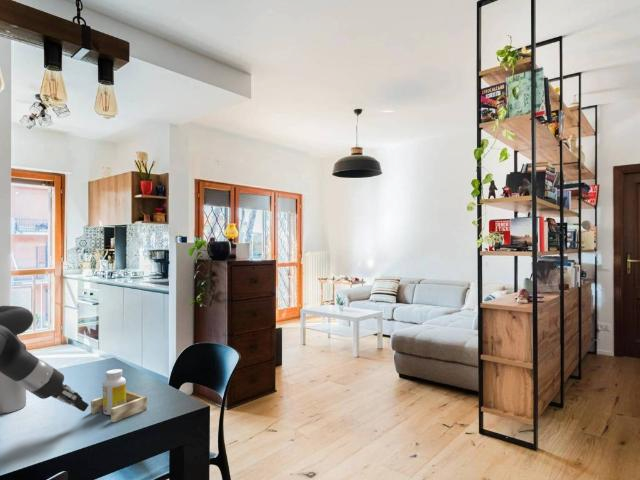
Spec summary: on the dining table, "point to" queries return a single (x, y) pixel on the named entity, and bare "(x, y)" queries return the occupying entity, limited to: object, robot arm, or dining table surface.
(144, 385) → the dining table surface
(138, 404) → the birch caddy
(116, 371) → the supplement bottle
